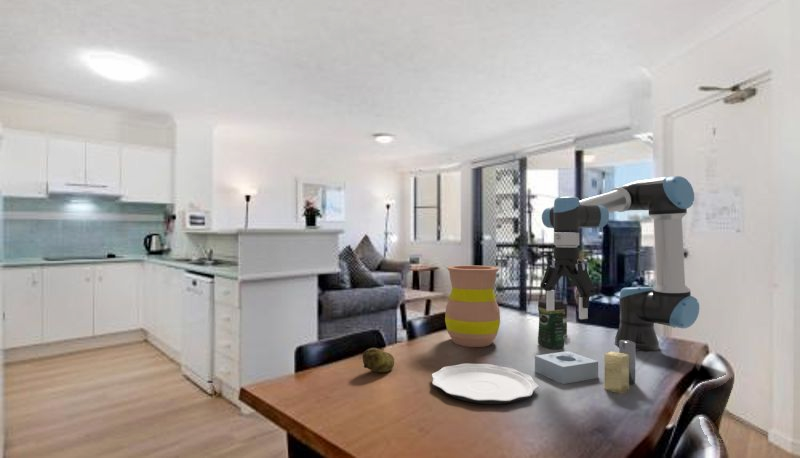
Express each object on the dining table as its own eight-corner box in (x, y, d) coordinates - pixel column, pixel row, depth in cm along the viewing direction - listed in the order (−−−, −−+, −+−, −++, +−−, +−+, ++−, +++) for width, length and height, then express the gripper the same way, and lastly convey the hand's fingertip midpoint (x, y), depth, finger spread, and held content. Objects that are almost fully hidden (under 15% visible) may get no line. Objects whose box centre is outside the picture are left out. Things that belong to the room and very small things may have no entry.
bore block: (568, 366, 139) (568, 351, 139) (598, 377, 128) (598, 361, 128) (534, 371, 134) (534, 355, 134) (563, 384, 123) (563, 366, 123)
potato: (404, 371, 133) (404, 346, 133) (369, 380, 125) (370, 353, 125) (388, 364, 139) (389, 340, 139) (355, 372, 132) (355, 346, 132)
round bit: (626, 379, 127) (626, 339, 127) (638, 383, 123) (638, 342, 123) (616, 380, 126) (616, 340, 126) (628, 385, 122) (628, 344, 122)
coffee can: (569, 337, 177) (570, 304, 177) (544, 336, 179) (544, 303, 179) (564, 331, 187) (564, 300, 187) (540, 330, 189) (540, 299, 189)
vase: (506, 349, 158) (506, 270, 158) (447, 349, 158) (448, 269, 158) (493, 335, 180) (494, 265, 180) (442, 334, 180) (442, 265, 180)
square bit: (612, 385, 122) (612, 351, 122) (628, 390, 118) (628, 354, 118) (604, 389, 119) (604, 353, 119) (621, 394, 115) (621, 357, 115)
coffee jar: (568, 348, 160) (568, 299, 160) (552, 350, 157) (552, 301, 157) (549, 342, 169) (549, 296, 169) (534, 344, 166) (534, 297, 166)
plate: (473, 418, 100) (473, 408, 100) (413, 379, 126) (413, 371, 126) (560, 396, 114) (560, 388, 114) (489, 365, 140) (490, 358, 140)
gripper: (529, 245, 141) (529, 308, 141) (589, 248, 118) (589, 323, 118) (547, 245, 144) (547, 306, 144) (608, 248, 121) (608, 321, 121)
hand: (566, 314), depth 131 cm, fingers open, 13 cm apart
